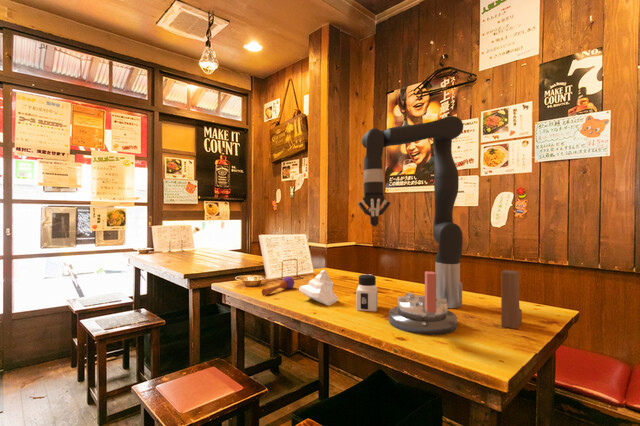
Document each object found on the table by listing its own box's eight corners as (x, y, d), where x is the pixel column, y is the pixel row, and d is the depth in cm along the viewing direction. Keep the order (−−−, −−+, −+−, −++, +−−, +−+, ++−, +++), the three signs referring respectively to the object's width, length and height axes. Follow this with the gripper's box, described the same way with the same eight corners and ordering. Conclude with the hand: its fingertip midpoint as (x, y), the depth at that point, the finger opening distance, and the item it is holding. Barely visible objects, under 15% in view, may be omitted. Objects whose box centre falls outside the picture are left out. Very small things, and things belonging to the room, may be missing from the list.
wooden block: (507, 319, 116) (507, 268, 116) (521, 322, 113) (521, 269, 113) (500, 326, 109) (501, 271, 109) (516, 329, 106) (516, 273, 106)
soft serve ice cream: (320, 299, 149) (328, 268, 150) (340, 310, 137) (349, 276, 137) (297, 295, 142) (305, 263, 143) (315, 307, 130) (324, 271, 131)
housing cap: (437, 312, 125) (437, 303, 125) (470, 333, 103) (470, 322, 103) (380, 314, 122) (380, 305, 122) (402, 336, 100) (402, 325, 100)
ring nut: (395, 305, 121) (395, 260, 121) (441, 307, 119) (441, 261, 119) (403, 330, 96) (403, 273, 96) (461, 333, 94) (461, 274, 94)
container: (376, 311, 125) (376, 277, 125) (356, 310, 127) (356, 276, 127) (377, 306, 133) (377, 273, 133) (358, 305, 134) (358, 272, 134)
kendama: (258, 286, 151) (286, 275, 168) (260, 299, 151) (288, 287, 168) (267, 285, 148) (295, 274, 164) (270, 298, 148) (297, 286, 164)
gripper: (386, 182, 134) (387, 225, 134) (354, 182, 132) (355, 226, 132) (393, 180, 126) (394, 226, 126) (359, 180, 125) (360, 227, 125)
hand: (374, 226), depth 129 cm, fingers closed
